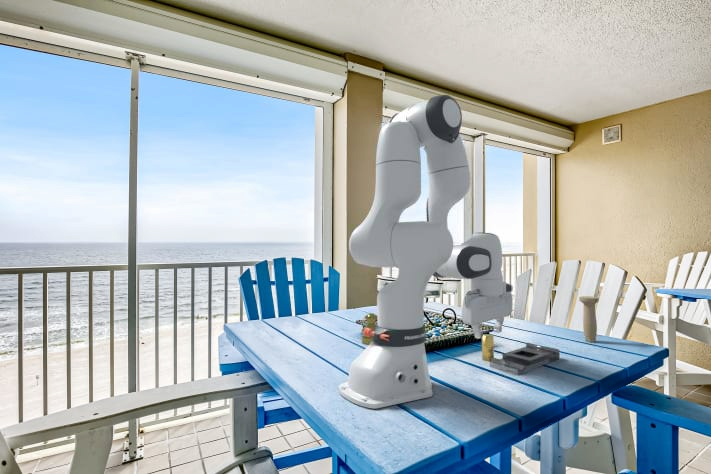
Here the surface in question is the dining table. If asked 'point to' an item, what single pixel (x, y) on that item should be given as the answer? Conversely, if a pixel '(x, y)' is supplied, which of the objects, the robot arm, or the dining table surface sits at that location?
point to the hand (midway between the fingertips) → (488, 334)
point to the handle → (589, 317)
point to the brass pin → (487, 347)
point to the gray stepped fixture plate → (514, 365)
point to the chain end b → (532, 354)
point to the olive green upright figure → (371, 325)
